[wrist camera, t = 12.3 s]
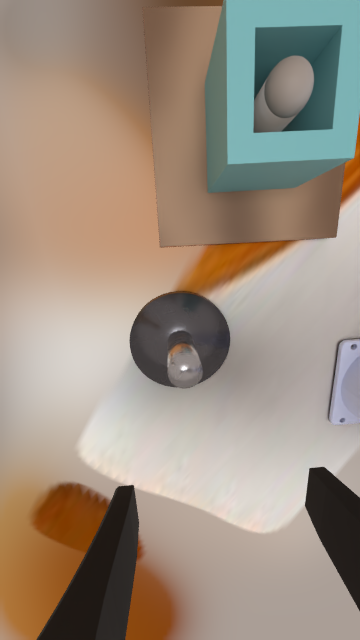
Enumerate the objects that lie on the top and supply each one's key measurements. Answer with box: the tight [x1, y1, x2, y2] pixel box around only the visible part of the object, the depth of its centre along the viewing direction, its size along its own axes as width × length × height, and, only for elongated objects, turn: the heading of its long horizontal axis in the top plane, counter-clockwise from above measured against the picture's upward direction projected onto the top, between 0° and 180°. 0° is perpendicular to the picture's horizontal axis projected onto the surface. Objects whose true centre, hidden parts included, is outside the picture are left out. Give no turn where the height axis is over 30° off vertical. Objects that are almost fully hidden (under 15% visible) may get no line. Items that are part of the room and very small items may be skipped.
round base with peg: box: [130, 291, 230, 388], centre depth 16 cm, size 8×8×6 cm
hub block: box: [143, 6, 345, 247], centre depth 12 cm, size 12×12×6 cm
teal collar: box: [205, 0, 360, 193], centre depth 12 cm, size 6×6×5 cm
